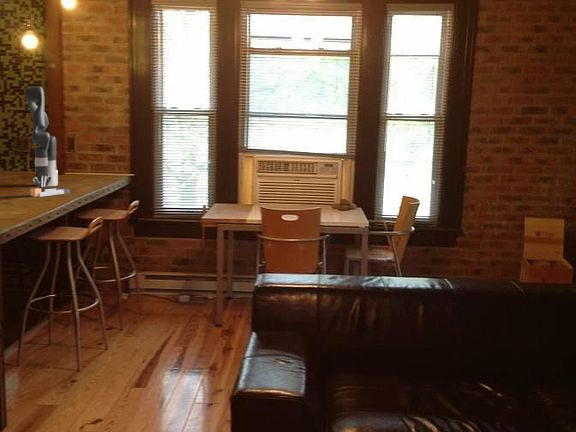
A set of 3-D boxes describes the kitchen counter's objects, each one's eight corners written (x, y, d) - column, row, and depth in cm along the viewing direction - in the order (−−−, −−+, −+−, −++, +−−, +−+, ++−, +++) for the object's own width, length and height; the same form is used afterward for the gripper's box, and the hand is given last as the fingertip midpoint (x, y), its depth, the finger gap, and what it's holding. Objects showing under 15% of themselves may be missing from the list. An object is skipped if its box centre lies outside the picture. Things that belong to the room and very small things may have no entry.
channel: (55, 192, 426) (55, 188, 425) (63, 193, 422) (63, 189, 421) (31, 195, 411) (31, 191, 410) (40, 196, 407) (40, 192, 406)
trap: (61, 191, 430) (61, 188, 430) (70, 192, 426) (70, 190, 426) (55, 192, 426) (55, 189, 426) (63, 193, 422) (63, 190, 422)
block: (36, 195, 412) (36, 187, 411) (41, 196, 409) (41, 188, 409) (30, 196, 408) (30, 188, 407) (35, 196, 406) (35, 189, 405)
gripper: (46, 163, 417) (46, 191, 420) (28, 165, 405) (29, 193, 408) (54, 164, 413) (55, 192, 416) (36, 166, 402) (37, 194, 405)
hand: (42, 193), depth 412 cm, fingers closed
